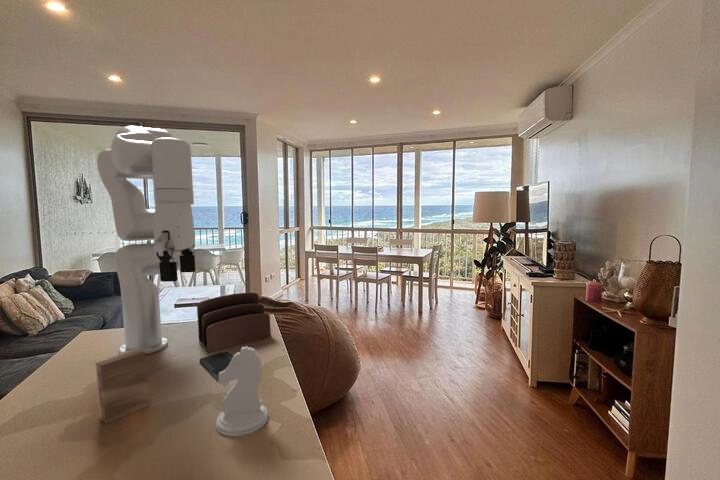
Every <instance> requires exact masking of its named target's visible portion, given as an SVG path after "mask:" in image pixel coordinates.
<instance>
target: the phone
mask: <svg viewBox="0 0 720 480" xmlns="http://www.w3.org/2000/svg"><path fill="white" fill-rule="evenodd" d="M233 356H234V355H232V354H231V353H230V352H228V351H223V352H218V353H216V354H211V355H208V356H204V357H201V358H200V359H199V364H200V365H201V366H202V367H203V368H204V369H205V370H206V371H207V372H208V373H209V374H210V375H211V376H212V377H213V378H214V379H215V380H216V381H219V380H218V378H219V375H218V374H219V372H221V371H224V370H225V369H226V368H227V367H228V365H229V363H230V362H231V360H232V358H233Z"/></svg>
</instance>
